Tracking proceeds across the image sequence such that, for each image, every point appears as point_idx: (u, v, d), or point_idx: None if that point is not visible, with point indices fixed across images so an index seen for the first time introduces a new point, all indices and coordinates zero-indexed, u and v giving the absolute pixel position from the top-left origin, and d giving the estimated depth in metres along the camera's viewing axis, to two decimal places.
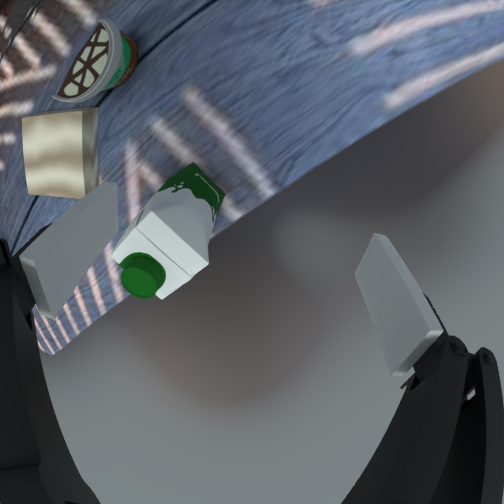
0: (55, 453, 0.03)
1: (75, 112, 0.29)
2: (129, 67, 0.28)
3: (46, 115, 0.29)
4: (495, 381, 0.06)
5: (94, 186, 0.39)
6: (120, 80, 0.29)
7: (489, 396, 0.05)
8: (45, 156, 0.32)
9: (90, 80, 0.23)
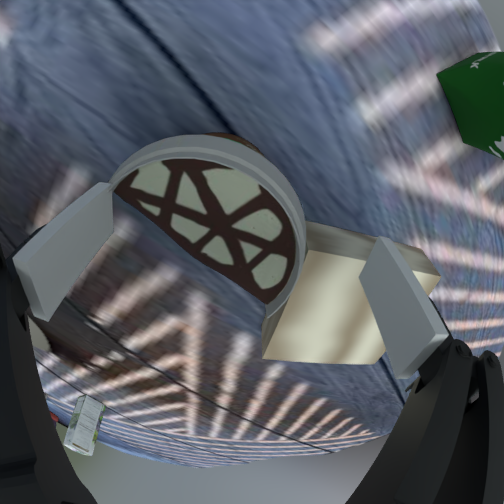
0: (51, 453, 0.03)
1: (305, 264, 0.20)
2: (244, 143, 0.18)
3: (281, 319, 0.24)
4: (499, 384, 0.06)
5: (421, 255, 0.24)
6: None
7: (492, 399, 0.05)
8: (346, 330, 0.25)
9: (267, 220, 0.13)
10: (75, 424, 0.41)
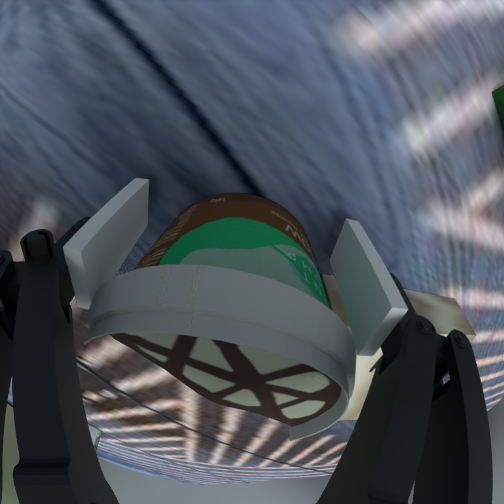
0: (83, 453, 0.04)
1: None
2: (283, 225, 0.13)
3: None
4: (471, 364, 0.06)
5: (455, 308, 0.18)
6: (311, 254, 0.14)
7: (466, 381, 0.06)
8: (366, 394, 0.20)
9: (313, 379, 0.09)
10: None
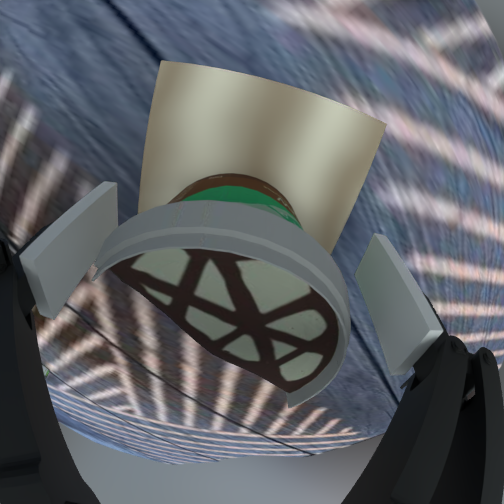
0: (55, 453, 0.03)
1: (158, 81, 0.13)
2: (275, 196, 0.15)
3: (143, 175, 0.17)
4: (495, 380, 0.06)
5: None
6: None
7: (489, 396, 0.05)
8: None
9: (310, 321, 0.10)
10: None
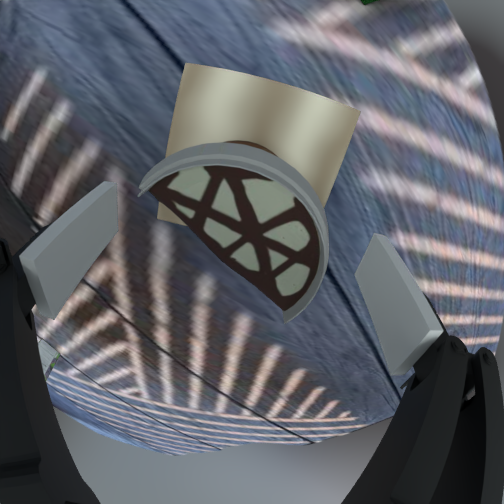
0: (55, 453, 0.03)
1: (183, 78, 0.18)
2: None
3: (168, 152, 0.21)
4: (495, 381, 0.06)
5: None
6: None
7: (489, 396, 0.05)
8: None
9: (296, 231, 0.14)
10: None
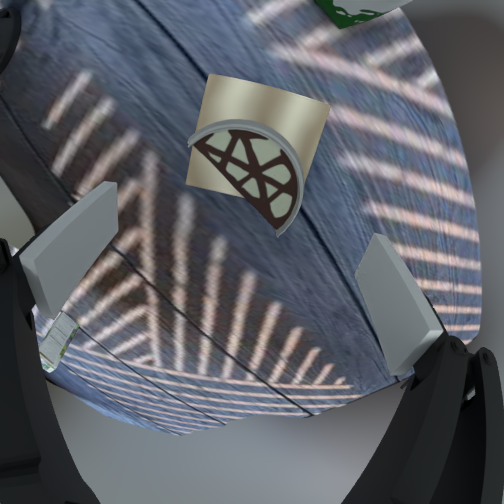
0: (55, 453, 0.03)
1: (208, 84, 0.26)
2: None
3: None
4: (496, 381, 0.06)
5: None
6: None
7: (489, 396, 0.05)
8: None
9: (282, 171, 0.23)
10: (46, 336, 0.48)
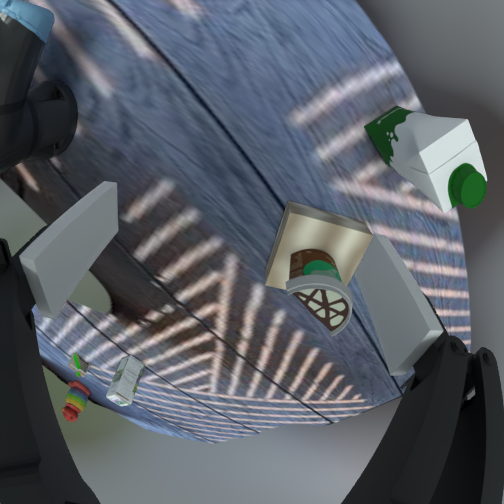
0: (55, 453, 0.03)
1: (288, 220, 0.40)
2: (330, 262, 0.41)
3: (276, 255, 0.44)
4: (495, 380, 0.06)
5: (362, 224, 0.43)
6: None
7: (489, 396, 0.05)
8: None
9: (341, 305, 0.37)
10: (119, 377, 0.63)
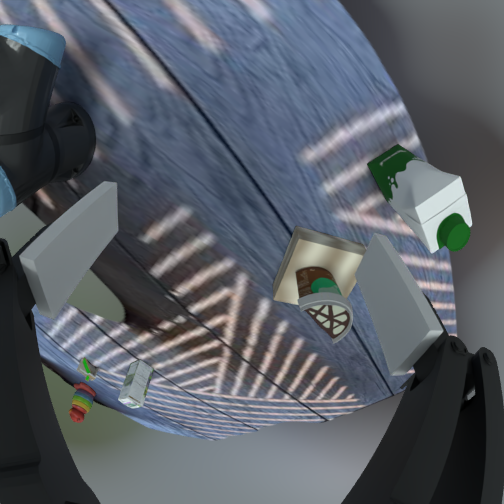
0: (55, 453, 0.03)
1: (297, 245, 0.46)
2: (331, 278, 0.46)
3: (285, 274, 0.49)
4: (495, 381, 0.06)
5: (361, 247, 0.49)
6: None
7: (489, 396, 0.05)
8: None
9: (343, 317, 0.42)
10: (131, 381, 0.67)
